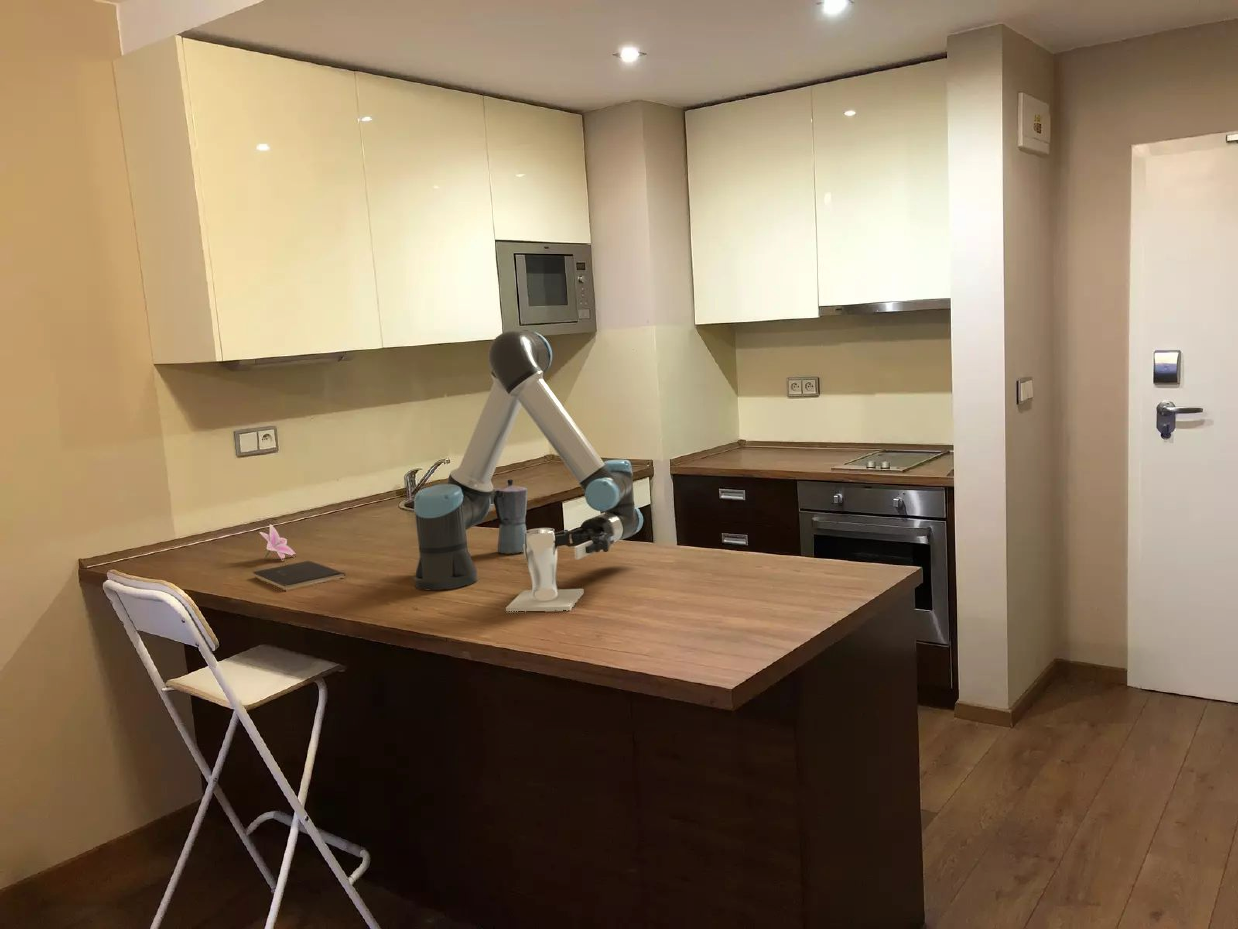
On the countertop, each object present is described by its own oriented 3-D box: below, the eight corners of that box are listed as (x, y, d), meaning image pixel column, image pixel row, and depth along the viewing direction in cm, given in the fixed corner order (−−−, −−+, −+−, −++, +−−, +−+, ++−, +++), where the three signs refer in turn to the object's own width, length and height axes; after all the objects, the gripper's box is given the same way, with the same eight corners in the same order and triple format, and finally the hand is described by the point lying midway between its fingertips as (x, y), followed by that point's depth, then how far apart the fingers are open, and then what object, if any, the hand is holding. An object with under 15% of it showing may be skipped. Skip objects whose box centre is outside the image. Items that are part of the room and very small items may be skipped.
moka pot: (541, 545, 276) (535, 475, 273) (517, 558, 261) (511, 484, 259) (510, 545, 279) (504, 476, 276) (485, 558, 264) (478, 485, 262)
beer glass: (529, 595, 218) (523, 529, 216) (561, 592, 219) (555, 526, 217) (529, 603, 211) (523, 535, 210) (561, 600, 212) (555, 532, 210)
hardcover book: (285, 594, 244) (284, 585, 243) (253, 580, 262) (252, 571, 261) (346, 580, 254) (345, 571, 253) (312, 568, 271) (311, 560, 271)
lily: (262, 570, 275) (276, 540, 274) (239, 551, 281) (253, 521, 281) (296, 573, 285) (309, 544, 285) (273, 555, 292) (286, 526, 291)
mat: (506, 612, 210) (505, 607, 210) (523, 594, 223) (523, 590, 223) (570, 610, 207) (569, 606, 207) (583, 593, 221) (583, 588, 221)
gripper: (647, 549, 228) (599, 571, 210) (558, 544, 241) (505, 565, 223) (644, 517, 227) (596, 537, 209) (555, 514, 240) (502, 533, 222)
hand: (549, 551), depth 216 cm, fingers open, 13 cm apart
